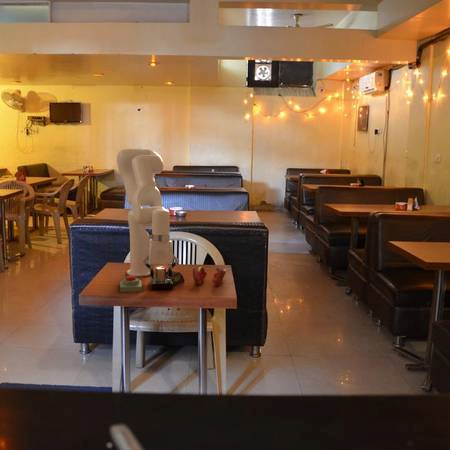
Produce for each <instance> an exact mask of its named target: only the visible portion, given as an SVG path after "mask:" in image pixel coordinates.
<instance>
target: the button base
mask: <svg viewBox="0 0 450 450" xmlns="http://www.w3.org/2000/svg"><path fill="white" fill-rule="evenodd" d="M142 291H143V286H142V280H141V279H139V277H135V281H126V277H124V278H122V280H119V292H120V293H134V292H135V293H139V292H142Z"/></svg>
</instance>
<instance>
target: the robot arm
mask: <svg viewBox="0 0 450 450" xmlns="http://www.w3.org/2000/svg"><path fill="white" fill-rule="evenodd" d="M116 165H117V169H118V172H119V174H120V176H121V178H122V180H123V184H124V191H125V195H126V200H127V203H128V205H129V206H131V209H130V210H129V211H128V213H127V223H128V229H129V254H130V255H129V266H130V267H129V269H128V270H127V271H126V274H127V276H129V275H133V276H135V277H137V278H139V277H148V276H149V278H150V277H152V279H154V277H155V274H154V273H155V270H154V267H155V265H158V266H159V265H160V266H163V265H167V266H168V268H167V276H168V278H171V277H172V275H173V269H174V268H175V267H176V266H177V264H179V262H180V259H179V258H178V257H177V256H176V255H174V250H173V243H172V240H171V239H170V237H171V236H170V235H171V234H170V233H171V229H170V228H171V227H170V226H171V224H170V223H171V221H170V219H171V218H170V216H171V215H170V214H171V213H170V210H169V209H166V208H165V207H164V205H163V200H162V195H161V192H160V190H159V188H158V187H157V183H156V179H155V175H154V174H161V173H162V172H163V171H164V160H163V159H162V157H161V155H159V154H158V153H157V152H156V151H155V150H152V149H150V148H125V149H121V150H120V151H118V152H117V154H116ZM147 228H151V234H150V233H149V232H148V231H147V230H146V229H147Z"/></svg>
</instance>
